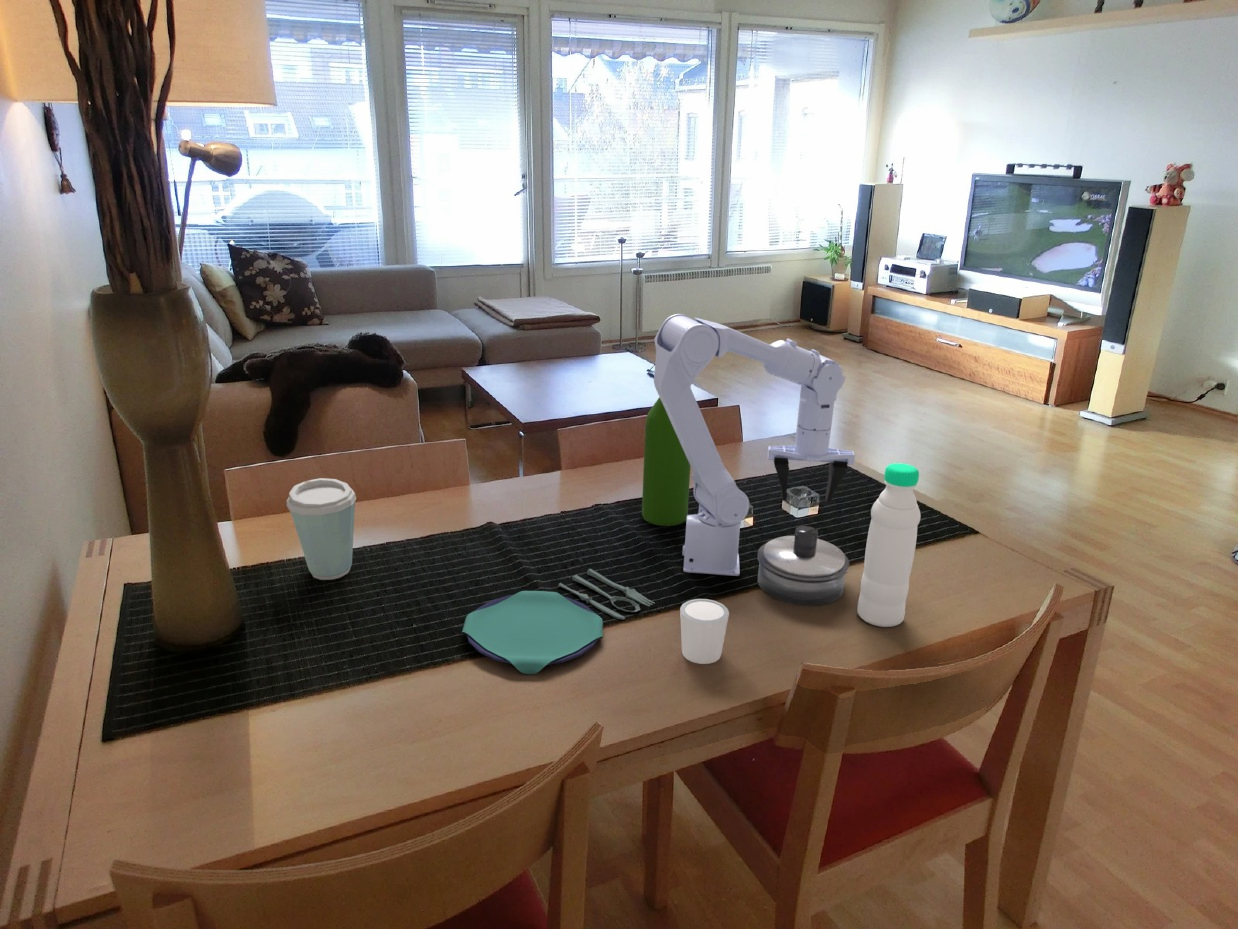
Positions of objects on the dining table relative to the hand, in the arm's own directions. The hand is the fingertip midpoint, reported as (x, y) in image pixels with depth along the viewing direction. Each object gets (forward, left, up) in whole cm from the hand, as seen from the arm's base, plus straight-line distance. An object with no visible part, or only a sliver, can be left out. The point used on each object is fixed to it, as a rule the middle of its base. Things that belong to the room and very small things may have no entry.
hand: (805, 499), depth 150 cm
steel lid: (-1, -13, -5) cm, 14 cm away
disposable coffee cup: (-79, -20, -11) cm, 82 cm away
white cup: (-17, -35, -11) cm, 40 cm away
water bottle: (+11, -21, -11) cm, 26 cm away
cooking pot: (-1, -12, -10) cm, 16 cm away
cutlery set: (-39, -30, -11) cm, 50 cm away
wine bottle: (-25, +12, -11) cm, 30 cm away
